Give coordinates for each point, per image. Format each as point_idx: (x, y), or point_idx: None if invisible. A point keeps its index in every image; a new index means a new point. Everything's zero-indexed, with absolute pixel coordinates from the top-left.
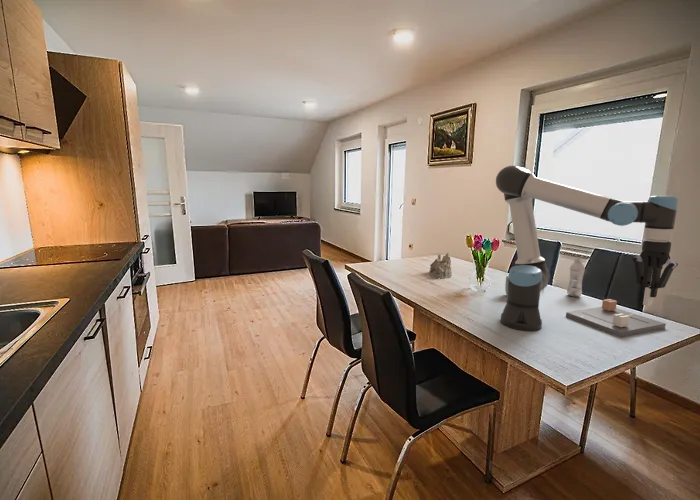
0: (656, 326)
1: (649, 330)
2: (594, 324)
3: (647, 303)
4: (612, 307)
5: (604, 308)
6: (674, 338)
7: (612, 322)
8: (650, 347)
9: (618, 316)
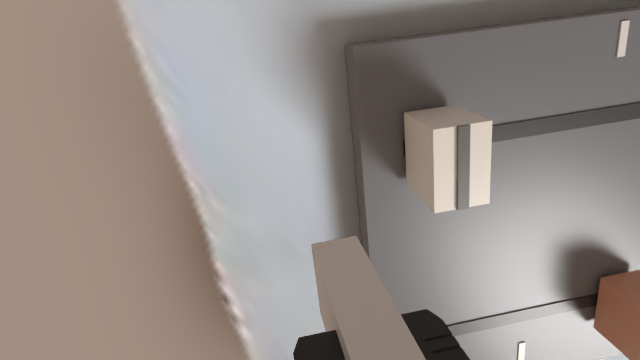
0: None
1: None
2: (514, 24)
3: (319, 257)
4: (610, 313)
5: (629, 276)
6: (267, 328)
7: None
8: (184, 93)
9: (456, 124)
